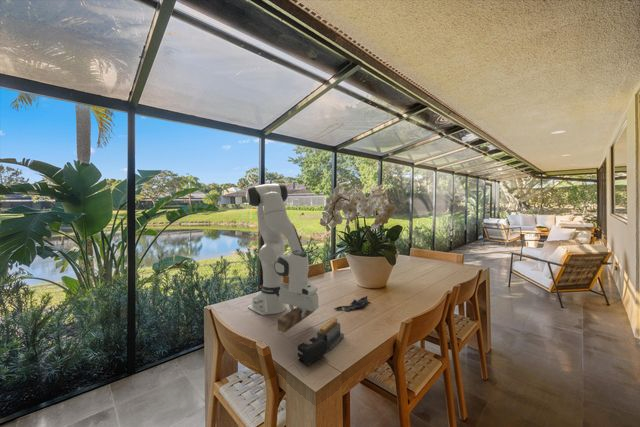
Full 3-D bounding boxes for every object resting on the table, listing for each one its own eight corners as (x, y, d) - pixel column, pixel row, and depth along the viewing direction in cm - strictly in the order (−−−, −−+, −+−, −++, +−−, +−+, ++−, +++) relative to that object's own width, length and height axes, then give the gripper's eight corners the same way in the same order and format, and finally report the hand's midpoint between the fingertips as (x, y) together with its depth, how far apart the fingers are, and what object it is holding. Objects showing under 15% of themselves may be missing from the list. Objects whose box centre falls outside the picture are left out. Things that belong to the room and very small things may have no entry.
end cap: (309, 369, 95) (308, 351, 95) (296, 361, 100) (296, 344, 100) (327, 358, 102) (327, 341, 102) (315, 350, 107) (315, 334, 107)
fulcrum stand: (313, 345, 111) (313, 327, 111) (328, 332, 122) (328, 315, 122) (329, 350, 107) (329, 332, 106) (343, 336, 118) (343, 319, 117)
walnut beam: (284, 332, 109) (284, 321, 109) (277, 330, 111) (277, 318, 110) (314, 311, 130) (314, 302, 129) (308, 310, 131) (308, 300, 131)
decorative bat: (345, 309, 138) (332, 305, 146) (345, 316, 138) (332, 312, 146) (379, 295, 157) (366, 292, 165) (379, 302, 157) (366, 299, 165)
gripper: (276, 283, 122) (275, 312, 122) (313, 292, 111) (312, 324, 112) (284, 280, 127) (284, 307, 128) (320, 288, 117) (319, 318, 118)
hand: (297, 315), depth 120 cm, fingers closed on walnut beam, 3 cm apart
